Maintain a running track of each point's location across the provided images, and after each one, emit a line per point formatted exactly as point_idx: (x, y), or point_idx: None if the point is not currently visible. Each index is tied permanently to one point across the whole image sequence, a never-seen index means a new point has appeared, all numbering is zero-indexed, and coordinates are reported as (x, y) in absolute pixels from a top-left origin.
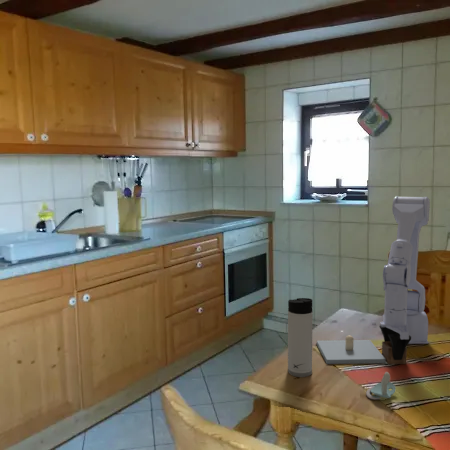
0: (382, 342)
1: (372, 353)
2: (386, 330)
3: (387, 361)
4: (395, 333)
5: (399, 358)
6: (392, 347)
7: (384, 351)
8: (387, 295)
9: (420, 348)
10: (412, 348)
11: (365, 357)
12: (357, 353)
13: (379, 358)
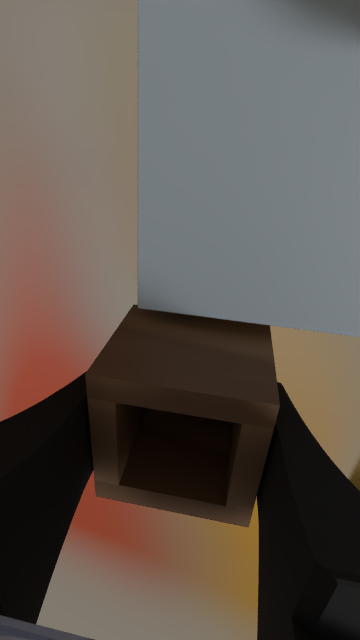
0: (270, 398)
1: (265, 251)
2: (289, 574)
3: (140, 312)
4: (266, 588)
5: None
6: (55, 408)
7: (205, 348)
8: None
9: None
10: None
11: (181, 137)
12: (301, 74)
13: (149, 265)
